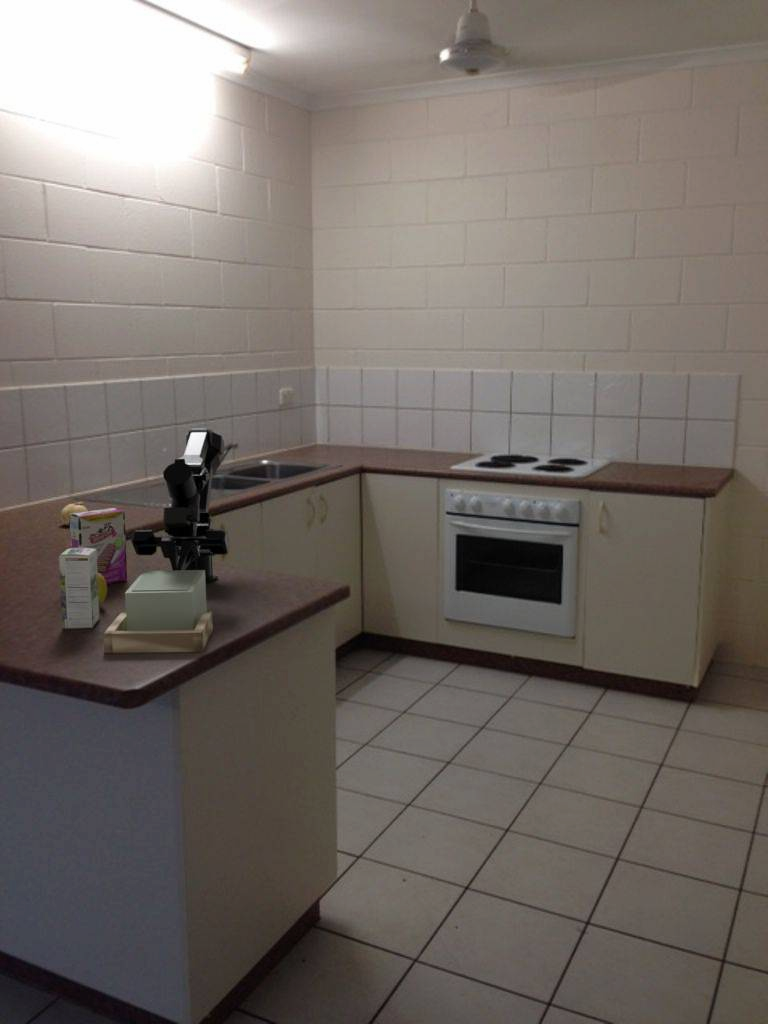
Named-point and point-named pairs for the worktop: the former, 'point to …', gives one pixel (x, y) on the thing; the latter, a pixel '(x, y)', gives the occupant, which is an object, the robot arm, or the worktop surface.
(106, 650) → the wooden tray
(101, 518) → the candy bar box
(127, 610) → the tub
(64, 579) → the syrup box
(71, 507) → the onion
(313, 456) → the worktop surface
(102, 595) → the lemon
